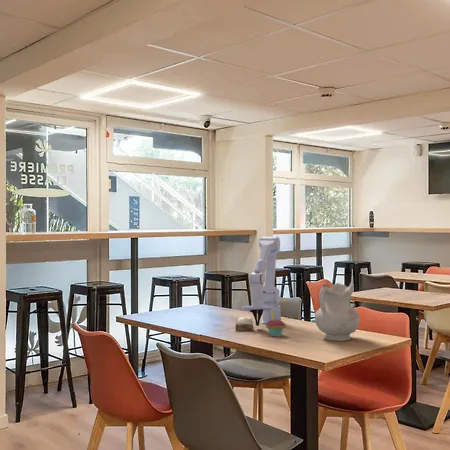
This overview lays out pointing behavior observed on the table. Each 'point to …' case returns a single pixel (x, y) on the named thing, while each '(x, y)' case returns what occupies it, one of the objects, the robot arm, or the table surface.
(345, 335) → the ceramic pitcher
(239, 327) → the holder
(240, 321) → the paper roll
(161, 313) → the table surface
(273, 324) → the cupcake
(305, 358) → the table surface
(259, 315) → the robot arm
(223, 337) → the table surface
